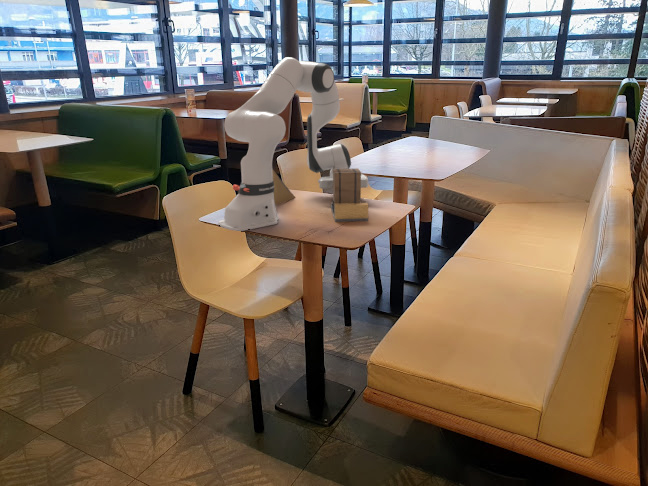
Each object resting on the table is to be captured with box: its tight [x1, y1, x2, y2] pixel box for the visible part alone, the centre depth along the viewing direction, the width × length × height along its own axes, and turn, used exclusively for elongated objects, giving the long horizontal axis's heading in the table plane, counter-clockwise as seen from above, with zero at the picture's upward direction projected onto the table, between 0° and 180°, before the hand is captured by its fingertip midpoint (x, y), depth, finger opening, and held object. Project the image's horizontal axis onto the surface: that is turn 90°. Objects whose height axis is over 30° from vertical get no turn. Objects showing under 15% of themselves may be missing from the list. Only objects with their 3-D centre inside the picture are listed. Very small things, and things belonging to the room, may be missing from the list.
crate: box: [332, 168, 362, 204], centre depth 192 cm, size 8×10×12 cm
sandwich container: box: [272, 168, 296, 206], centre depth 207 cm, size 9×15×15 cm, turn 147°
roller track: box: [330, 199, 369, 223], centre depth 188 cm, size 22×12×6 cm, turn 4°
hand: (345, 186), depth 196 cm, fingers closed
